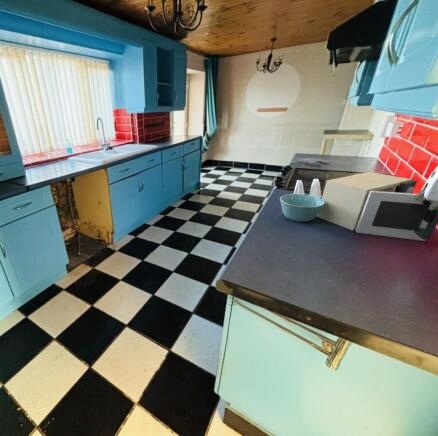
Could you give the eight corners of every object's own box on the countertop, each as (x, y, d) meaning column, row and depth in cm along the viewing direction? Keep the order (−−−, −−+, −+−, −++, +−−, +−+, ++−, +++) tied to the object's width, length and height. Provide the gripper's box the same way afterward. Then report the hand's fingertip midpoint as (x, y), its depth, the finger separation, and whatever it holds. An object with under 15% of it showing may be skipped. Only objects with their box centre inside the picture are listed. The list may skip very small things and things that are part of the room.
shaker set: (320, 200, 117) (326, 178, 113) (320, 202, 114) (327, 180, 109) (292, 197, 123) (296, 176, 118) (292, 199, 120) (296, 178, 115)
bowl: (274, 221, 99) (277, 202, 95) (279, 208, 111) (282, 191, 107) (319, 229, 91) (325, 209, 87) (319, 214, 102) (324, 196, 99)
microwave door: (435, 249, 75) (460, 203, 68) (361, 239, 82) (377, 197, 76) (423, 238, 81) (445, 195, 74) (355, 230, 88) (369, 190, 82)
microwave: (403, 219, 94) (420, 180, 87) (359, 233, 86) (375, 191, 80) (357, 206, 108) (369, 171, 101) (316, 216, 101) (326, 180, 94)
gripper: (429, 162, 67) (401, 221, 74) (519, 168, 59) (477, 232, 67) (419, 157, 72) (393, 212, 80) (499, 162, 65) (463, 221, 73)
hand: (432, 221), depth 74 cm, fingers closed, pressing on microwave door
